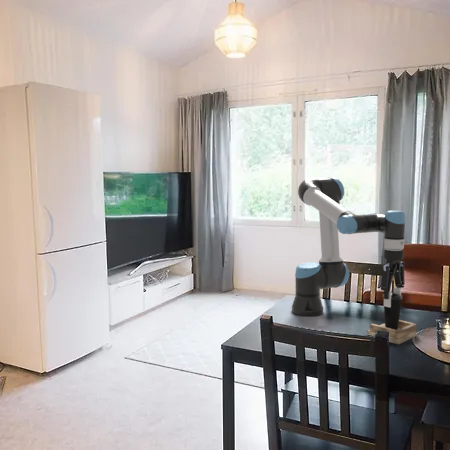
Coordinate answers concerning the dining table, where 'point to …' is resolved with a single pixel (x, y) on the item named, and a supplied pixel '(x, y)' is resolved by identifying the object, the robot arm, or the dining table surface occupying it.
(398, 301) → the drinking cup
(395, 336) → the tray
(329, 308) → the dining table surface
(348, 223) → the robot arm
